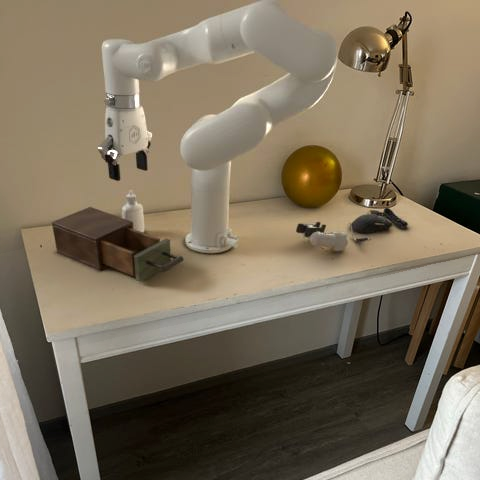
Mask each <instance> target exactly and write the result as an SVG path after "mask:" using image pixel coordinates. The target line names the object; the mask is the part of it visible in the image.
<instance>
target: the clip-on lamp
mask: <svg viewBox="0 0 480 480" xmlns="http://www.w3.org/2000/svg"><path fill="white" fill-rule="evenodd" d="M351 223H352V222H350V221H349V222H348V223H347V227H346V233H345V232H343V231H340V230H339V231H331V232H325V230H326V228H327V225H326V224H325V223H324V224H321V221H316V222H315V224H312V223H300V222H299V223H298V224H297V226H296V229H295V232H296V233H297V234H302V236H303V241H304V243H305V242H308V241H310V244H311V245H312V246H314V247H315V246H316V247H324V248H330V249H331V251H333V252H342V251H345V249H346V248H347V246H348V244H349V239H348V236H349V235H348V233H349V228H350V231H351V237H352V239H353V240H354V241H356V242H359V243H362V242H368V241H371V238H369V237H359V238H355V236H354V230H353V229H352V225H351ZM350 226H351V227H350ZM306 238H307V239H306Z"/></svg>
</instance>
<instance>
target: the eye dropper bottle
mask: <svg viewBox="0 0 480 480" xmlns="http://www.w3.org/2000/svg"><path fill="white" fill-rule="evenodd" d="M125 196H126V204H124V205H123V206H122V207H121V218H124V219H126V220H129V221H132V222H133V229H135V230H137V231H140V232H143V233H145V217H144V216H145V215H144V207H143V205H142V204H141V203H140V202H138V201H137V195H136V194H135V193H134V192H133V190H132V189H129V190H128V194H126V195H125Z"/></svg>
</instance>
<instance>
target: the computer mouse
mask: <svg viewBox="0 0 480 480" xmlns="http://www.w3.org/2000/svg"><path fill="white" fill-rule="evenodd" d="M365 212H366V213H365V214H364V213H363V214H362V215H359V216H358V217H357V218H355V219H354V220H353V221H352V222H350V223H351V225H352V230H353V232H356V233H359V234H368V233H369V234H370V233H373V232H377V231H382V230H383V231H384V230H388V229H390V228H391V227H392V226H393V223H395V224H396V225H397V226H398V227H399V228H402V229H405V230H406V229H408V226H409V223H408V222H407V221H405V220H403V219H402V218H400V217H399V216H397V215H396V213H394V211H393V210H392V209H391V208H389V207H385V208H384V209H383V211H379V210H375V209H370V210H368V209H367V210H365ZM349 228H351V226H350V225H349Z"/></svg>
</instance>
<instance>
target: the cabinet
mask: <svg viewBox="0 0 480 480" xmlns="http://www.w3.org/2000/svg"><path fill="white" fill-rule="evenodd" d="M51 225H52V226H51V227H52V231H53V237H54V242H55V248H56V253H57V254H60V255H62V256H63V257H64V256H65V257H67V258H70V259H71V260H73V261H76V262H79V263H81V264H83V265H86V266H88V267H91V268H93V269H96V270H97V271H102V270H104V269H106V268H107V267H108V266H107V265H105V264H103V263H101V255H100V247H99V241H100V240H102V239H104V238H106V237H108V236H110V235H112V234H114V233H116V232H119V231H121V230H123V229H125V228H127V227H129V228H132V229H133V222H132V221H129V220H126V219H124V218H122V216H118V215H115V214H112V213H110V212H107V211H103V210H101V209H99V208H95V207H92V206H89V207H86V208H83V209H80V210H78V211H76V212H73V213H71V214H69V215H65V216H63V217H61V218H59V219H56V220H54V221H52V222H51Z"/></svg>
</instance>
